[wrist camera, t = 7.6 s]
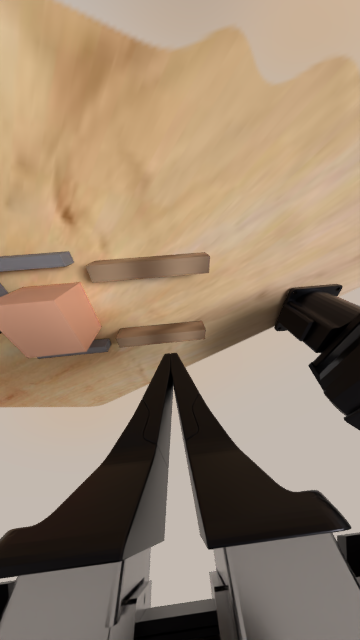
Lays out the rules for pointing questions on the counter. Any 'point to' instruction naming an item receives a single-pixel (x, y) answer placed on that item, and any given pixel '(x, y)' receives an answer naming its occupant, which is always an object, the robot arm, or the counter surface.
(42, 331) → the terracotta block
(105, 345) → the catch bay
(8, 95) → the counter surface
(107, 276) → the wooden blocks
